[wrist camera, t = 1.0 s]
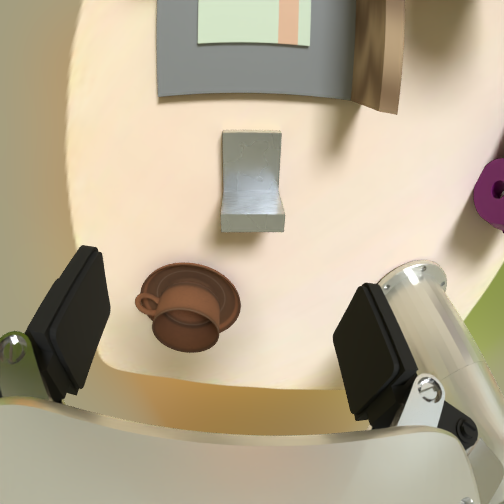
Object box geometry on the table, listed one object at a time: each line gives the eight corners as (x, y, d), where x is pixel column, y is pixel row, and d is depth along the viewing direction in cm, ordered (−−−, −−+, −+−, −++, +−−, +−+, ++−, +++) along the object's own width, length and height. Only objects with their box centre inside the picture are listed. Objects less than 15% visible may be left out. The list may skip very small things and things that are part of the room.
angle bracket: (275, 200, 29) (283, 232, 24) (224, 200, 29) (221, 232, 24) (279, 130, 25) (290, 147, 20) (223, 129, 25) (218, 146, 20)
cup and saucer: (149, 322, 39) (140, 358, 34) (138, 250, 32) (122, 286, 27) (236, 329, 40) (236, 366, 35) (245, 258, 33) (246, 297, 28)
